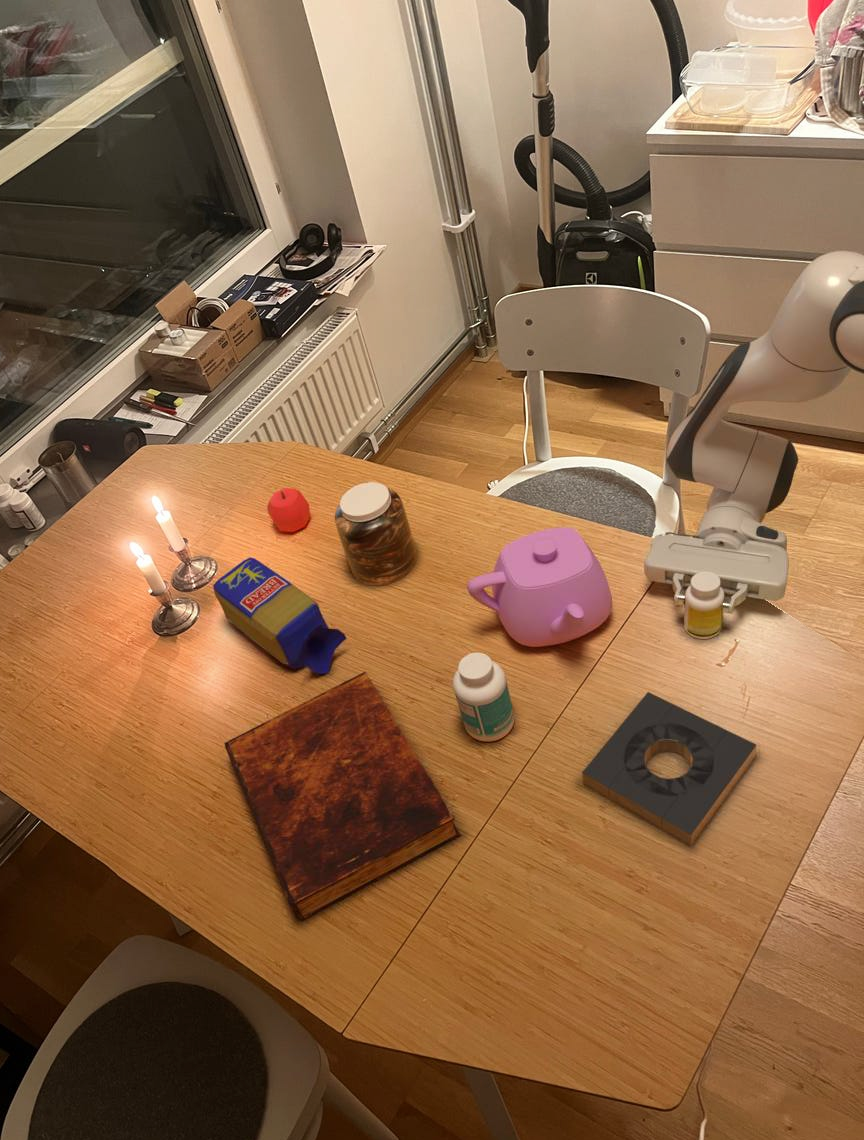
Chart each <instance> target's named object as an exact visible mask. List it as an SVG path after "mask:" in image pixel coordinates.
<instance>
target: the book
mask: <svg viewBox="0 0 864 1140" xmlns="http://www.w3.org/2000/svg"><path fill="white" fill-rule="evenodd" d="M224 749H225V750H226V753H227V756H228V758H229V760H230V763H231V765H232V768H233V770H234V772H235V776H236V777H237V780H238V783H239V784H240V787H241V790H242V792H243V795H244V797H245V799H246V801H247V804H248V806H249V809H250V811H251V815H252V816H253V819H254V821H255V824H256V826H257V829H258V831H259V833H260V836H261V839H262V841H263V844H264V845H265V848H266V850H267V851H266V852H267V853H268V855H269V858H270V860H271V863H272V865H273V867H274V870H275V872H276V875H277V878H278V880H279V882H280V885H281V888H282V889H283V892H284V894H285V897H286V899H287V901H288V904H289V906H290V907H291V909H292V911H293V912H294V913H295V915H296V916H297V918H298V919H299V920H300V921H302V922H304V921H305V920H308V919H310V918H312V917H313V916H315V915H317V914H320V913H321V912H323V911H324V910H327V909H328V908H331V907H332V906H333V905H336V904H337V903H340V902H342V901H343V900H345V899H348V898H349V897H350V896H353V895H355V894H357V893H358V892H360V891H363V890H364V889H366V888H367V887H369V886H371V885H373V884H375V883H376V882H379V881H380V880H382V879H384V878H386V877H388V876H390V875H391V874H393V873H396V872H397V871H399V870H401V869H403V868H405V867H407V866H409V865H410V864H412V863H414V862H416V861H418V860H419V859H422V858H423V857H425V856H427V855H429V854H431V853H433V852H434V851H436V850H438V849H440V848H442V847H444V846H445V845H447V844H449V843H451V842H453V841H455V840H457V839H458V838H460V837H462V833H461V832H460V830H459V828H458V827H457V825H456V823H455V822H454V820H456V818H455V816H454V814H453V812H452V811H451V809H450V808H449V806H448V805H447V803H446V801H445V800H444V798H443V797H442V795H441V793H440V791H439V790H438V788H437V786H436V785H435V783H434V781H433V779H432V778H431V777H430V775H429V773H428V771H427V770H426V768H425V767H424V764H423V763H422V762H421V760H420V758H419V757H418V755H417V753H416V752H415V750H414V748H413V747H412V745H411V744H410V742H409V741H408V738H407V737H406V736H405V734H404V731H403V730H402V729H401V727H400V725H399V724H398V722H397V720H396V719H395V717H394V715H393V714H392V712H391V710H390V709H389V708H388V705H387V704H386V702H385V700H383V698H382V695H381V694H380V693H379V691H378V689H377V687H376V686H375V684H374V682H373V681H372V679H371V678H370V676H369V675H368V673H367V671H363V672H362V673H360V674H357V675H356V676H353V677H352V678H350V679H347V680H345V681H344V682H342V683H339V684H338V685H336V686H333V687H332V688H330V689H327V690H326V691H324V692H322V693H320V694H317V695H316V696H314V697H312V698H310V699H308V700H306V701H304V702H302V703H300V704H298V705H297V706H294V707H292V708H290V709H288V710H287V711H284V712H282V713H280V714H279V715H277V716H275V717H272V718H270V719H269V720H267V721H264V722H263V723H261V724H258V725H257V726H255V727H253V728H251V729H249V730H247V731H245V732H242V733H241V734H239V735H237V736H235V737H233V738H231V739H229V740H227V741H225V742H224Z"/></svg>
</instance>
